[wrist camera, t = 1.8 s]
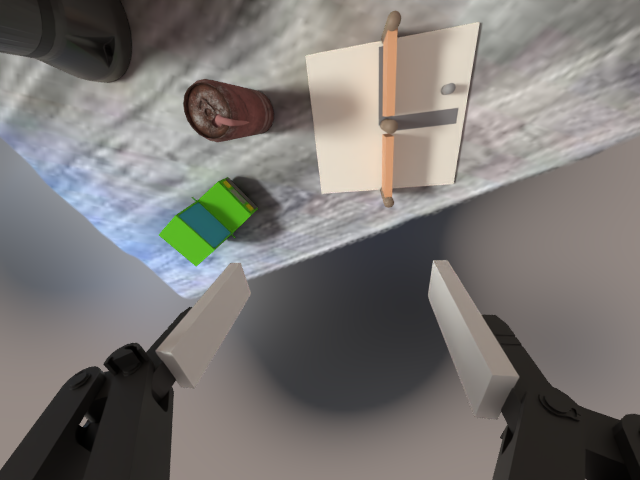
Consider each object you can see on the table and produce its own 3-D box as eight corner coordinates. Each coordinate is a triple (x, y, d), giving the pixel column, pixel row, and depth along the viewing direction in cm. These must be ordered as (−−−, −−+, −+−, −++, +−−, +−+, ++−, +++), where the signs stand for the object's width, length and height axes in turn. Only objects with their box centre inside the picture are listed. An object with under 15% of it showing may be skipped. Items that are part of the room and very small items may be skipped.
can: (275, 137, 38) (236, 148, 26) (238, 129, 38) (183, 136, 26) (278, 95, 35) (235, 85, 23) (238, 86, 35) (175, 72, 23)
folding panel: (380, 133, 35) (385, 137, 29) (390, 132, 34) (396, 136, 29) (380, 194, 39) (384, 207, 34) (388, 193, 39) (393, 207, 33)
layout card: (305, 56, 32) (302, 51, 30) (478, 22, 28) (487, 15, 26) (322, 193, 41) (320, 197, 39) (452, 183, 37) (458, 187, 35)
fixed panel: (380, 33, 29) (386, 11, 23) (393, 30, 29) (402, 8, 23) (379, 131, 35) (384, 134, 29) (390, 129, 34) (397, 133, 28)
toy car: (266, 209, 45) (244, 232, 36) (227, 243, 50) (200, 270, 42) (227, 168, 42) (193, 182, 33) (190, 209, 47) (153, 230, 39)
